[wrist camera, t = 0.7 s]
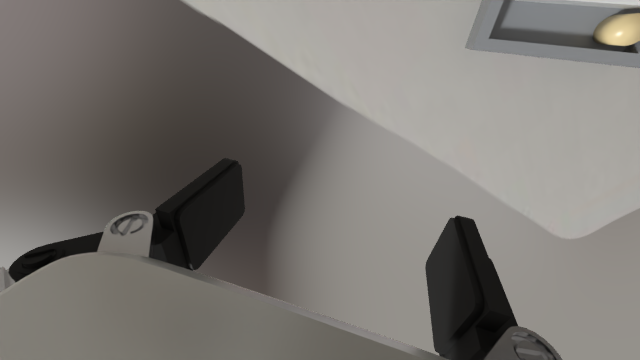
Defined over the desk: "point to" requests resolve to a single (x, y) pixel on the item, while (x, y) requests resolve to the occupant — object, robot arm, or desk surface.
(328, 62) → the desk surface
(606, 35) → the housing
